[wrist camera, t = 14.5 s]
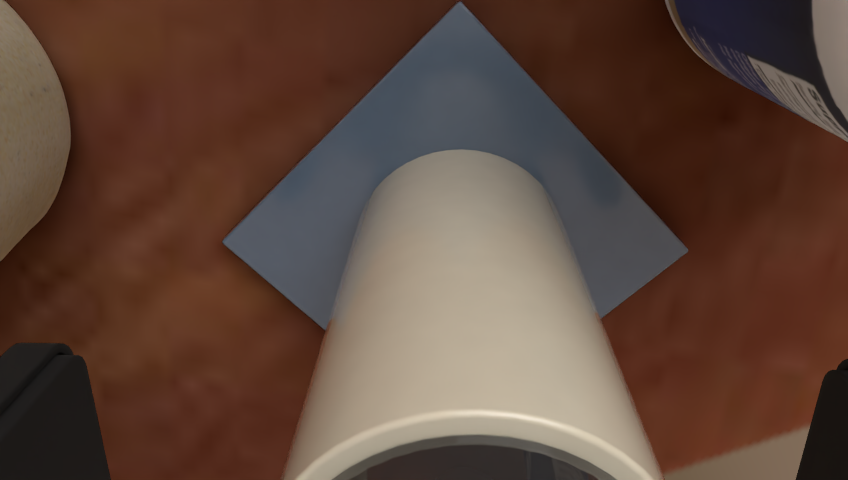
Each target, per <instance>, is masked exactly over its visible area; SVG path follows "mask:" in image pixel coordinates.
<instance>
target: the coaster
mask: <svg viewBox="0 0 848 480" xmlns="http://www.w3.org/2000/svg"><path fill="white" fill-rule="evenodd" d="M460 149H464V150H477V151H481V152H486V153H491V154H494V155H497V156H500V157H502V158H505V159H507V160H509V161H511V162H513V163H515V164H517V165H518V166H520V167H521V168H523V169H524V170H526V171H527V172H529V173H530V174H531V175H532V176H533V177H534V178H535V179H536V180H538V181H539V182H540V184H541V185H542V186H543V187H544V188H545V190H546V191H547V192H548V194H549V195H550V197H551V198H552V200H553V202H554V203H555V206H556V208H557V210H558V212H559V215H560V217H561V220H562V222H563V225H564V227H565V230H566V232H567V235H568V237H569V240H570V242H571V245H572V247H573V250H574V252H575V255H576V257H577V260H578V262H579V265H580V267H581V270H582V273H583V275H584V278H585V280H586V283H587V285H588V288H589V290H590V293H591V295H592V298H593V300H594V303H595V305H596V308H597V310H598V313H599V315H600V318H602V317H604V316H605V315H606V314H608V313H609V312H610V311H611V310H613V309H614V308H615V307H617V306H618V305H619V304H621V303H622V302H623V301H625V300H626V299H627V298H628V297H630V296H631V295H632V294H634V293H635V292H636V291H638V290H639V289H640V288H641V287H643V286H644V285H645V284H647V283H648V282H649V281H651V280H652V279H653V278H654V277H656V276H657V275H658V274H660V273H661V272H662V271H664V270H665V269H666V268H667V267H669V266H670V265H671V264H673V263H674V262H675V261H677V260H678V259H679V258H680V257H682V256H683V255H684V254H686V253H687V252H688V248H687V247H686V246H685V244H684V243H683V242H682V241H681V239H680V238H679V237H678V236H677V235H676V234H675V233H674V232H673V231H672V230H671V229H670V227H669V226H668V225H667V224H666V223H665V222H664V221H663V220H662V219H661V218H660V217H659V215H658V214H657V213H656V212H655V211H654V210H653V209H652V208H651V207H650V206H649V205H648V203H647V202H646V201H645V200H644V199H643V198H642V197H641V196H640V195H639V194H638V193H637V191H636V190H635V189H634V188H633V187H632V186H631V185H630V184H629V183H628V182H627V181H626V179H625V178H624V177H623V176H622V175H621V174H620V173H619V172H618V171H617V170H616V169H615V167H614V166H613V165H612V164H611V163H610V162H609V161H608V160H607V159H606V158H605V157H604V155H603V154H602V153H601V152H600V151H599V150H598V149H597V148H596V147H595V146H594V145H593V143H592V142H591V141H590V140H589V139H588V138H587V137H586V136H585V135H584V134H583V133H582V131H581V130H580V129H579V128H578V127H577V126H576V125H575V124H574V123H573V122H572V121H571V119H570V118H569V117H568V116H567V115H566V114H565V113H564V112H563V111H562V110H561V109H560V107H559V106H558V105H557V104H556V103H555V102H554V101H553V100H552V99H551V98H550V97H549V95H548V94H547V93H546V92H545V91H544V90H543V89H542V88H541V87H540V86H539V85H538V83H537V82H536V81H535V80H534V79H533V78H532V77H531V76H530V75H529V74H528V73H527V71H526V70H525V69H524V68H523V67H522V66H521V65H520V64H519V63H518V62H517V61H516V59H515V58H514V57H513V56H512V55H511V54H510V53H509V52H508V51H507V50H506V49H505V47H504V46H503V45H502V44H501V43H500V42H499V41H498V40H497V39H496V38H495V37H494V36H493V34H492V33H491V32H490V31H489V30H488V29H487V28H486V27H485V26H484V25H483V24H482V22H481V21H480V20H479V19H478V18H477V17H476V16H475V15H474V14H473V13H472V12H471V10H470V9H469V8H468V7H467V6H466V5H465V4H464V3H463V2H462V1H461V0H458V1H456V2H455V3H454V4H453V5H452V6H451V7H450V8H449V9H448V10H447V11H446V13H445V14H444V15H443V16H442V17H441V18H440V19H439V20H438V21H437V22H436V23H435V24H434V25H433V26H432V27H431V28H430V29H429V30H428V31H427V32H426V33H425V34H424V35H423V36H422V37H421V38H420V39H419V40H418V41H417V42H416V43H415V44H414V45H413V46H412V47H411V48H410V49H409V50H408V51H407V52H406V53H405V54H404V55H403V56H402V57H401V58H400V59H399V60H398V61H397V62H396V63H395V64H394V65H393V66H392V67H391V68H390V69H389V70H388V71H387V72H386V73H385V74H384V75H383V76H382V77H381V78H380V79H379V80H378V81H377V82H376V83H375V84H374V85H373V86H372V87H371V88H370V90H369V91H368V92H367V93H366V94H365V95H364V96H363V97H362V98H361V99H360V100H359V101H358V102H357V103H356V104H355V105H354V106H353V107H352V108H351V109H350V110H349V111H348V112H347V113H346V114H345V115H344V116H343V117H342V118H341V119H340V120H339V121H338V122H337V123H336V124H335V125H334V126H333V127H332V128H331V129H330V130H329V131H328V132H327V133H326V134H325V135H324V136H323V137H322V138H321V139H320V140H319V141H318V142H317V143H316V144H315V145H314V146H313V147H312V148H311V149H310V150H309V151H308V152H307V153H306V154H305V155H304V156H303V157H302V158H301V159H300V160H299V161H298V162H297V163H296V164H295V165H294V167H293V168H292V169H291V170H290V171H289V172H288V173H287V174H286V175H285V176H284V177H283V178H282V179H281V180H280V181H279V182H278V183H277V184H276V185H275V186H274V187H273V188H272V189H271V190H270V191H269V192H268V193H267V194H266V195H265V196H264V197H263V198H262V199H261V200H260V201H259V202H258V203H257V204H256V205H255V206H254V207H253V208H252V209H251V210H250V211H249V212H248V213H247V214H246V215H245V216H244V217H243V218H242V219H241V220H240V221H239V222H238V223H237V224H236V225H235V226H234V227H233V228H232V229H231V230H230V231H229V232H228V234H227V235H226V236H225V238H224V239H223V241H222V243H223V244H224V245H225V246H226V247H227V248H229V249H230V250H231V251H232V252H233V253H235V254H236V255H237V256H238V257H239V258H240V259H242V260H243V261H244V262H245V263H246V264H247V265H249V266H250V267H251V268H252V269H253V270H254V271H256V272H257V273H258V274H259V275H260V276H262V277H263V278H264V279H265V280H266V281H267V282H269V283H270V284H271V285H272V286H273V287H274V288H276V289H277V290H278V291H279V292H280V293H282V294H283V295H284V296H285V297H286V298H287V299H289V300H290V301H291V302H292V303H293V304H294V305H296V306H297V307H298V308H299V309H300V310H301V311H303V312H304V313H305V314H306V315H307V316H309V317H310V318H311V319H312V320H313V321H314V322H316V323H317V324H318V325H319V326H320V327H321V328H323V329H324V330H326V327H327V323H328V320H329V317H330V314H331V310H332V307H333V304H334V300H335V297H336V294H337V290H338V287H339V284H340V280H341V277H342V274H343V270H344V267H345V264H346V261H347V257H348V254H349V251H350V247H351V244H352V241H353V237H354V234H355V231H356V227H357V224H358V221H359V218H360V215H361V212H362V210H363V208H364V206H365V204H366V202H367V200H368V199H369V197H370V196H371V194H372V193H373V191H374V190H375V189H376V188H377V186H378V185H379V184H380V183H381V182H382V181H383V180H384V179H385V178H386V177H387V176H389V175H390V174H391V173H392V172H393V171H395V170H396V169H398V168H399V167H401V166H402V165H404V164H406V163H407V162H410V161H412V160H414V159H416V158H418V157H421V156H424V155H427V154H431V153H434V152H440V151H445V150H460Z"/></svg>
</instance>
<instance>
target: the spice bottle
mask: <svg viewBox="0 0 848 480" xmlns="http://www.w3.org/2000/svg"><path fill="white" fill-rule="evenodd" d="M280 480H665V479H664V476H663V474H662V471H661V469H660V466H659V464H658V461H657V459H656V456H655V454H654V451H653V449H652V446H651V444H650V441H649V439H648V436H647V434H646V431H645V429H644V426H643V423H642V421H641V418H640V416H639V413H638V411H637V408H636V406H635V403H634V401H633V398H632V396H631V393H630V391H629V388H628V386H627V383H626V381H625V378H624V376H623V373H622V371H621V368H620V366H619V363H618V361H617V358H616V356H615V353H614V351H613V348H612V345H611V343H610V340H609V338H608V335H607V333H606V330H605V328H604V325H603V323H602V320H601V318H600V315H599V313H598V310H597V308H596V305H595V303H594V300H593V298H592V295H591V293H590V290H589V288H588V285H587V283H586V280H585V278H584V275H583V273H582V270H581V267H580V265H579V262H578V260H577V257H576V255H575V252H574V250H573V247H572V245H571V242H570V240H569V237H568V235H567V232H566V230H565V227H564V225H563V222H562V220H561V217H560V215H559V212H558V210H557V208H556V206H555V203H554V202H553V200H552V198H551V197H550V195H549V194H548V192H547V191H546V190H545V188H544V187H543V186H542V185H541V184H540V182H539V181H538V180H536V179H535V178H534V177H533V176H532V175H531V174H530V173H529V172H527V171H526V170H524V169H523V168H521V167H520V166H518V165H517V164H515V163H513V162H511V161H509V160H507V159H505V158H502V157H500V156H497V155H494V154H491V153H486V152H481V151H477V150H464V149H460V150H445V151H440V152H434V153H431V154H427V155H424V156H421V157H418V158H416V159H414V160H412V161H410V162H407V163H406V164H404V165H402V166H401V167H399V168H398V169H396V170H395V171H393V172H392V173H391V174H390V175H389V176H387V177H386V178H385V179H384V180H383V181H382V182H381V183H380V184H379V185H378V186H377V188H376V189H375V190H374V191H373V193H372V194H371V196H370V197H369V199H368V200H367V202H366V204H365V206H364V208H363V210H362V212H361V215H360V218H359V221H358V224H357V227H356V231H355V234H354V237H353V241H352V244H351V247H350V251H349V254H348V257H347V261H346V264H345V267H344V270H343V274H342V277H341V280H340V284H339V287H338V290H337V294H336V297H335V300H334V304H333V307H332V310H331V314H330V317H329V320H328V323H327V327H326V330H325V333H324V337H323V340H322V343H321V347H320V350H319V353H318V357H317V360H316V363H315V367H314V370H313V373H312V376H311V380H310V383H309V386H308V390H307V393H306V396H305V400H304V403H303V406H302V410H301V413H300V416H299V419H298V423H297V426H296V429H295V433H294V436H293V439H292V443H291V446H290V449H289V453H288V456H287V459H286V463H285V466H284V469H283V472H282V476H281V479H280Z"/></svg>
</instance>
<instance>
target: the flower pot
mask: <svg viewBox="0 0 848 480" xmlns="http://www.w3.org/2000/svg"><path fill="white" fill-rule="evenodd" d="M70 145H71V129H70V118H69V113H68V108H67V103H66V99H65V96H64V92H63V89H62V86H61V83H60V81H59V78H58V76H57V73H56V71H55V69H54V67H53V65H52V63H51V61H50V59H49V57H48V55H47V54H46V52H45V51H44V49H43V47H42V46H41V44H40V43H39V41H38V40H37V38H36V37H35V36H34V34H33V33H32V31H31V30H30V28H29V27H28V26H27V25H26V23H25V22H24V21H23V20H22V19H21V18H20V16H19V15H18V14H17V13H16V12H15V11H14V10H13V9H12V8H11V7H10V6H9V5H8V3H7V2H6V1H5V0H0V262H1V260H2V259H3V258H4V257H5V256H6V255H7V254H8V253H9V252H10V250H11V249H12V248H13V247H14V246H15V245H16V244H17V243H18V242H19V241H20V240H21V239H22V238H23V237H24V236H25V235H26V234H27V233H28V231H29V230H30V229H31V228H33V227H34V226H35V225H36V224H37V223H38V222H39V221H40V220H41V219H42V218H43V217H44V216H45V214H46V213H47V212H48V210H49V209H50V207H51V205H52V203H53V201H54V200H55V197H56V195H57V193H58V191H59V188H60V185H61V182H62V179H63V176H64V173H65V169H66V164H67V160H68V155H69V151H70Z"/></svg>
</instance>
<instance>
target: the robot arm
mask: <svg viewBox="0 0 848 480" xmlns="http://www.w3.org/2000/svg"><path fill="white" fill-rule="evenodd" d="M0 480H111V479H110V474H109V469H108V464H107V460H106V455H105V450H104V446H103V441H102V436H101V432H100V427H99V422H98V417H97V413H96V408H95V403H94V399H93V394H92V389H91V385H90V380H89V375H88V370H87V366H86V363H85V361H84V359H83V358H82V357H81V356H79V355H73V352H72V350H71V349H70V348H69V346H67V345H65V344H60V343H17V344H15V345H13V346H12V347H10V348H9V349H8V350H7V351H6V352H5V353H4V354H3V355H2V356H1V357H0ZM796 480H848V359H846V360H844V361H842V362H841V363H840V364H839V366H838V367H837V370H831V371H828V373H827V374H826V375H825V377H824V379H823V382H822V385H821V389H820V393H819V396H818V400H817V404H816V407H815V411H814V415H813V418H812V422H811V426H810V429H809V433H808V437H807V441H806V444H805V448H804V451H803V455H802V459H801V462H800V466H799V470H798V473H797V477H796Z"/></svg>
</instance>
